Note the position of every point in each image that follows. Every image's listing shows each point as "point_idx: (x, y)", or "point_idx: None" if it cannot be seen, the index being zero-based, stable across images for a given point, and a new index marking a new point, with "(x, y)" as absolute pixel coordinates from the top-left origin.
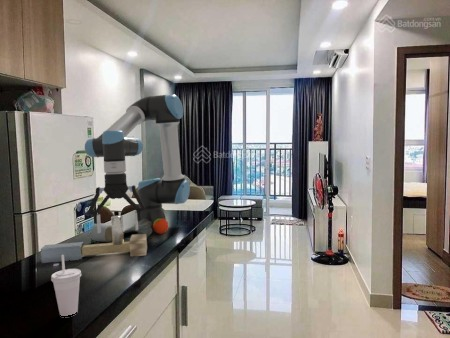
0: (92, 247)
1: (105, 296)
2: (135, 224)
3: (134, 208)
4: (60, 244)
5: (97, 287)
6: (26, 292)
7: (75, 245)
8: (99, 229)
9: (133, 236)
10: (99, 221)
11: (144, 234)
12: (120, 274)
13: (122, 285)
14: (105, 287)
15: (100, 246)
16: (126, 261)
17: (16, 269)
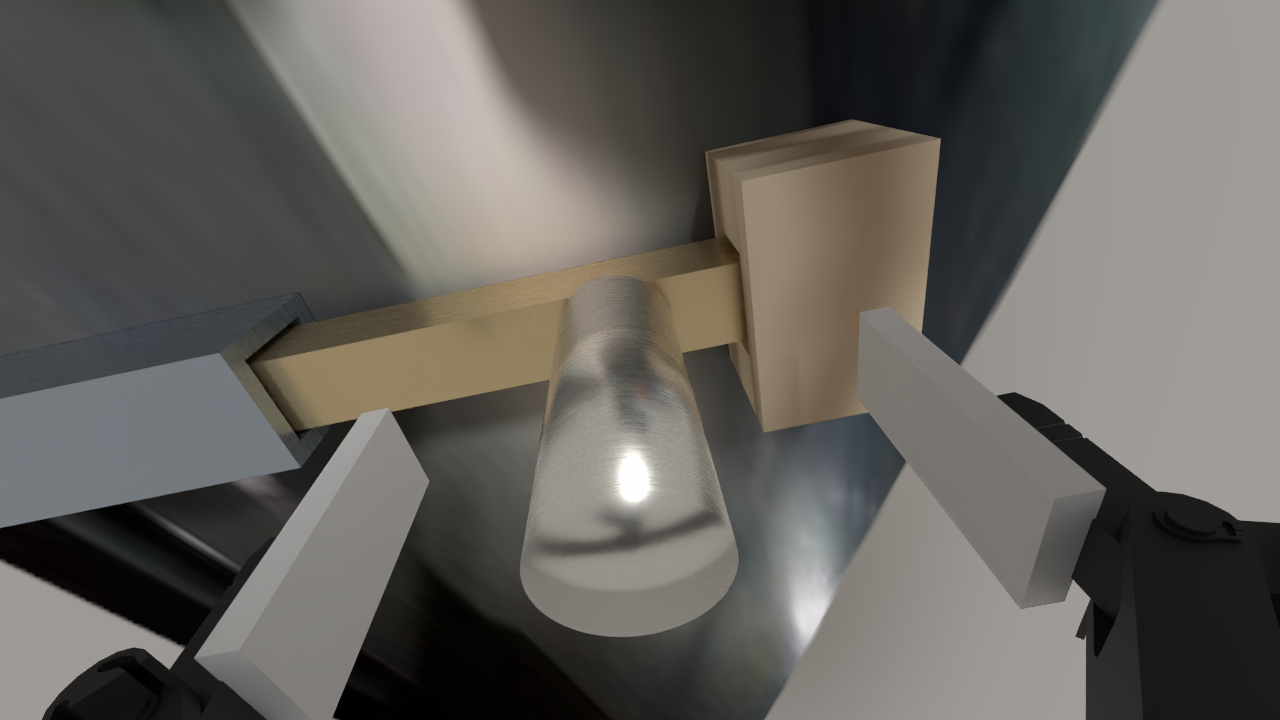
0: (399, 406)
1: (727, 716)
2: (897, 449)
3: (1098, 708)
4: (22, 424)
5: (674, 677)
6: (412, 709)
7: (240, 461)
8: (413, 517)
9: (778, 269)
10: (361, 594)
11: (913, 181)
12: (733, 590)
13: (767, 664)
14: (705, 676)
15: (468, 394)
16: (722, 441)
17: (39, 536)
